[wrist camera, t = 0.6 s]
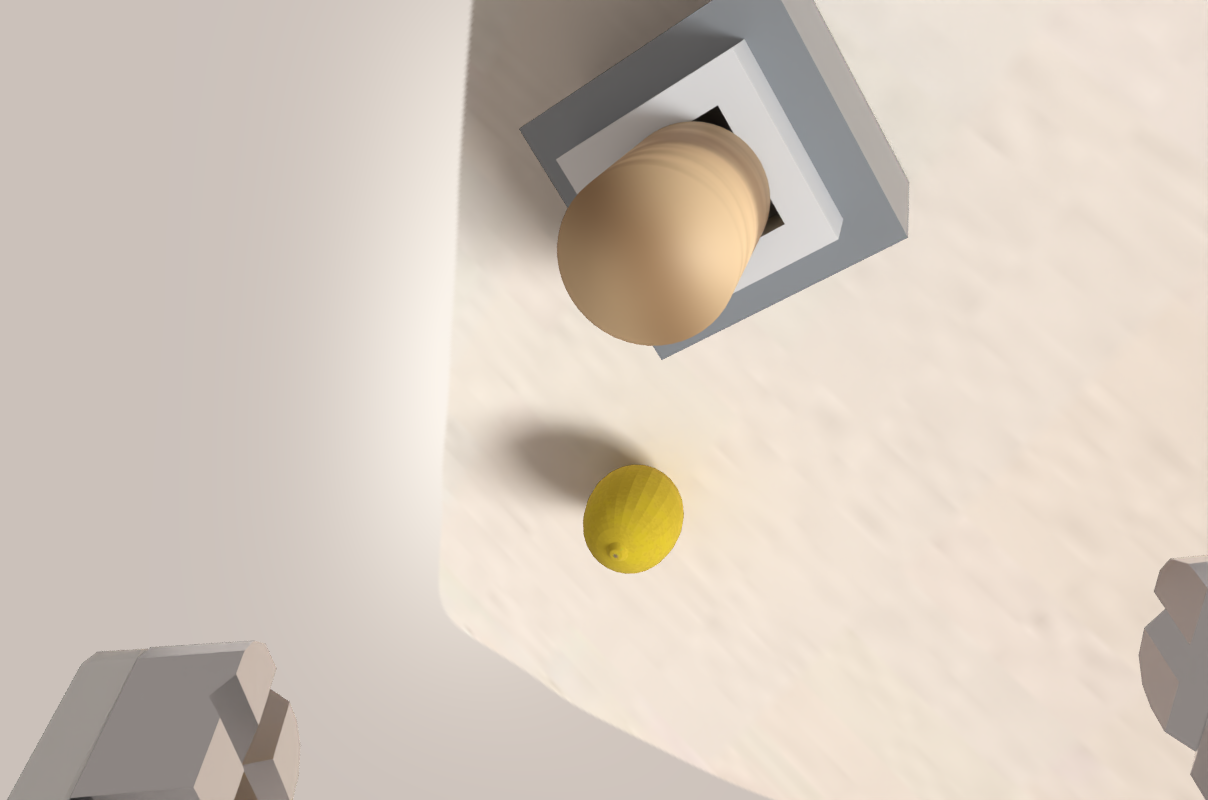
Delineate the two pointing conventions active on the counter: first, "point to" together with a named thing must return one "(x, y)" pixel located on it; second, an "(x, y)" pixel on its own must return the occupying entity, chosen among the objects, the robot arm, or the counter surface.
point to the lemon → (633, 519)
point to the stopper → (665, 234)
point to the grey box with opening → (748, 138)
